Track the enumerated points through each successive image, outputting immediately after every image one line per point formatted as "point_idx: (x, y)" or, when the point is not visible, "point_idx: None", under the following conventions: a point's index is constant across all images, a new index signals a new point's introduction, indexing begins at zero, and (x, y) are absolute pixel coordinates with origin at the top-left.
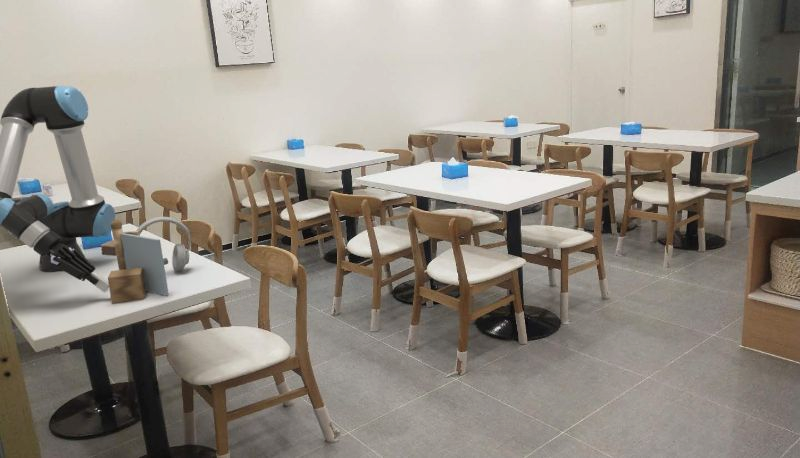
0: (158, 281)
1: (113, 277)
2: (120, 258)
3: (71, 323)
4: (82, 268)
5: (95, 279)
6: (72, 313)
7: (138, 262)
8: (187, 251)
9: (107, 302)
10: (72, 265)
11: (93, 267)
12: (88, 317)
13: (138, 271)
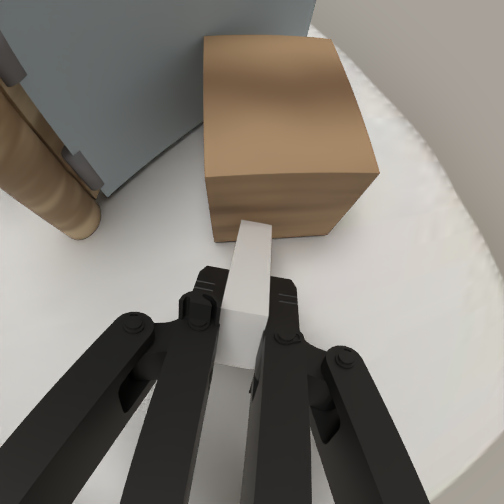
0: (287, 35)
1: (370, 142)
2: (21, 141)
3: (480, 338)
4: (295, 393)
5: (281, 292)
6: (392, 383)
7: (176, 28)
8: None
9: (298, 260)
10: (382, 475)
11: (144, 321)
12: (449, 294)
13: (277, 42)
